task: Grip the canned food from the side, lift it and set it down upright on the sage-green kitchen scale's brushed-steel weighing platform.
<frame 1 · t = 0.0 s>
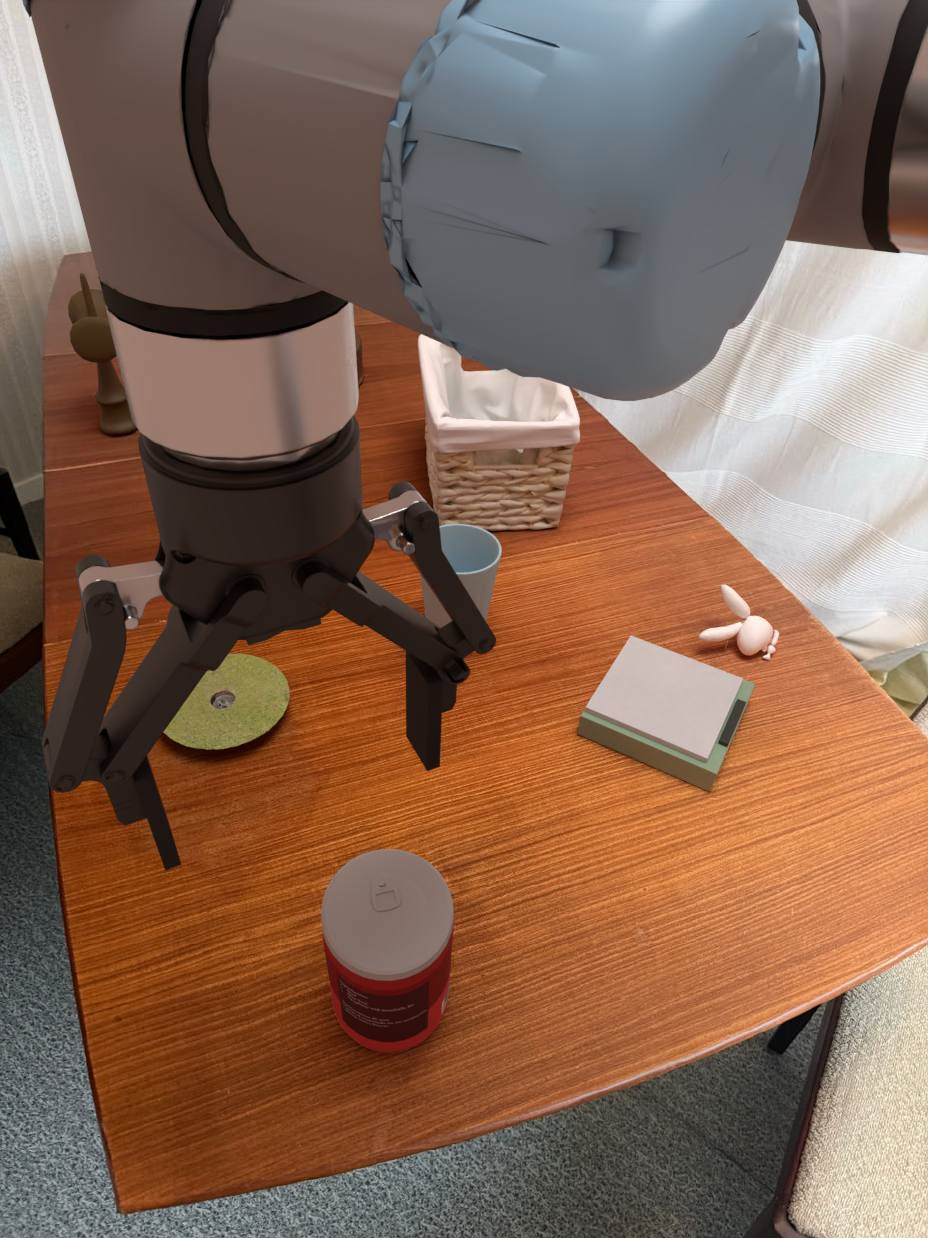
hand: (302, 796, 43), 20 cm above the table, tool pointing down, fingers open, 13 cm apart
rabbit figurine: (729, 646, 82), on the table
green grinding disc: (226, 714, 73), on the table
kendama: (121, 429, 109), on the table
scale: (664, 717, 74), on the table
container: (296, 379, 123), on the table
cup: (455, 634, 82), on the table
basket: (486, 484, 103), on the table
canned food: (390, 996, 55), on the table
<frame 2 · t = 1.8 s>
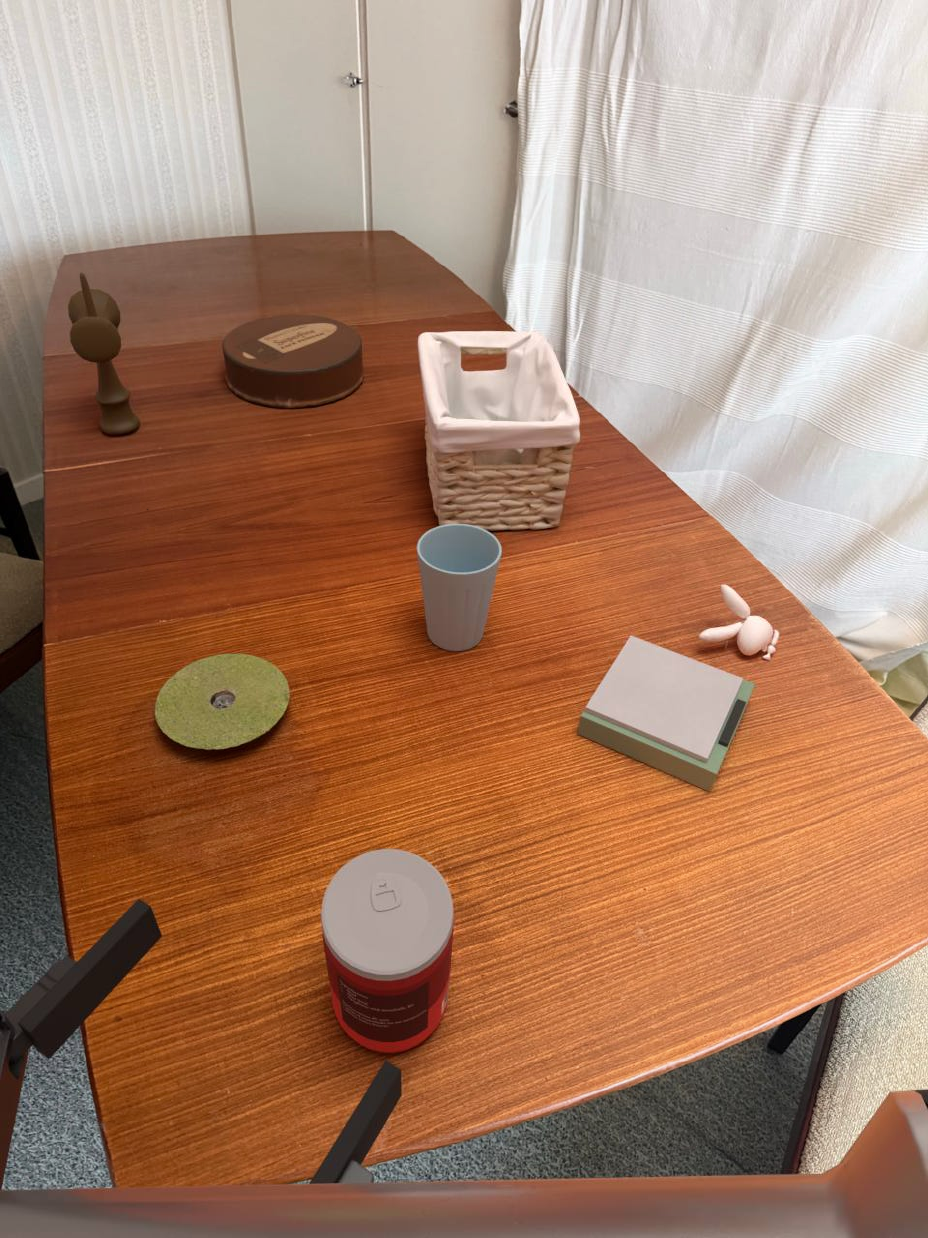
hand: (265, 991, 36), 18 cm above the table, tool horizontal, fingers open, 13 cm apart
nothing on the table moved.
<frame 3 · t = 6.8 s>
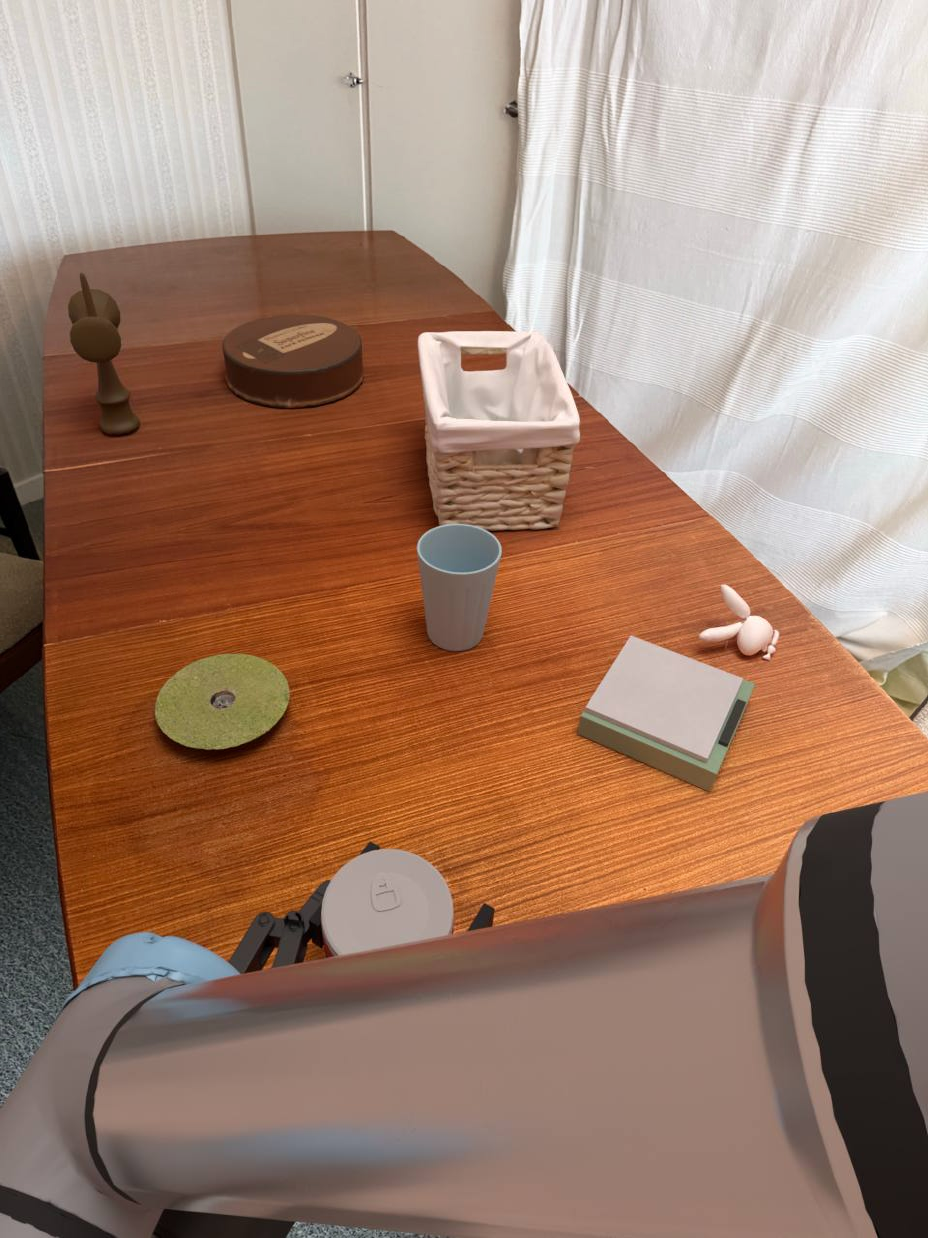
hand: (429, 885, 54), 6 cm above the table, tool horizontal, fingers closed on canned food, 8 cm apart
canned food: (390, 996, 55), on the table, touching gripper
everything else where it was.
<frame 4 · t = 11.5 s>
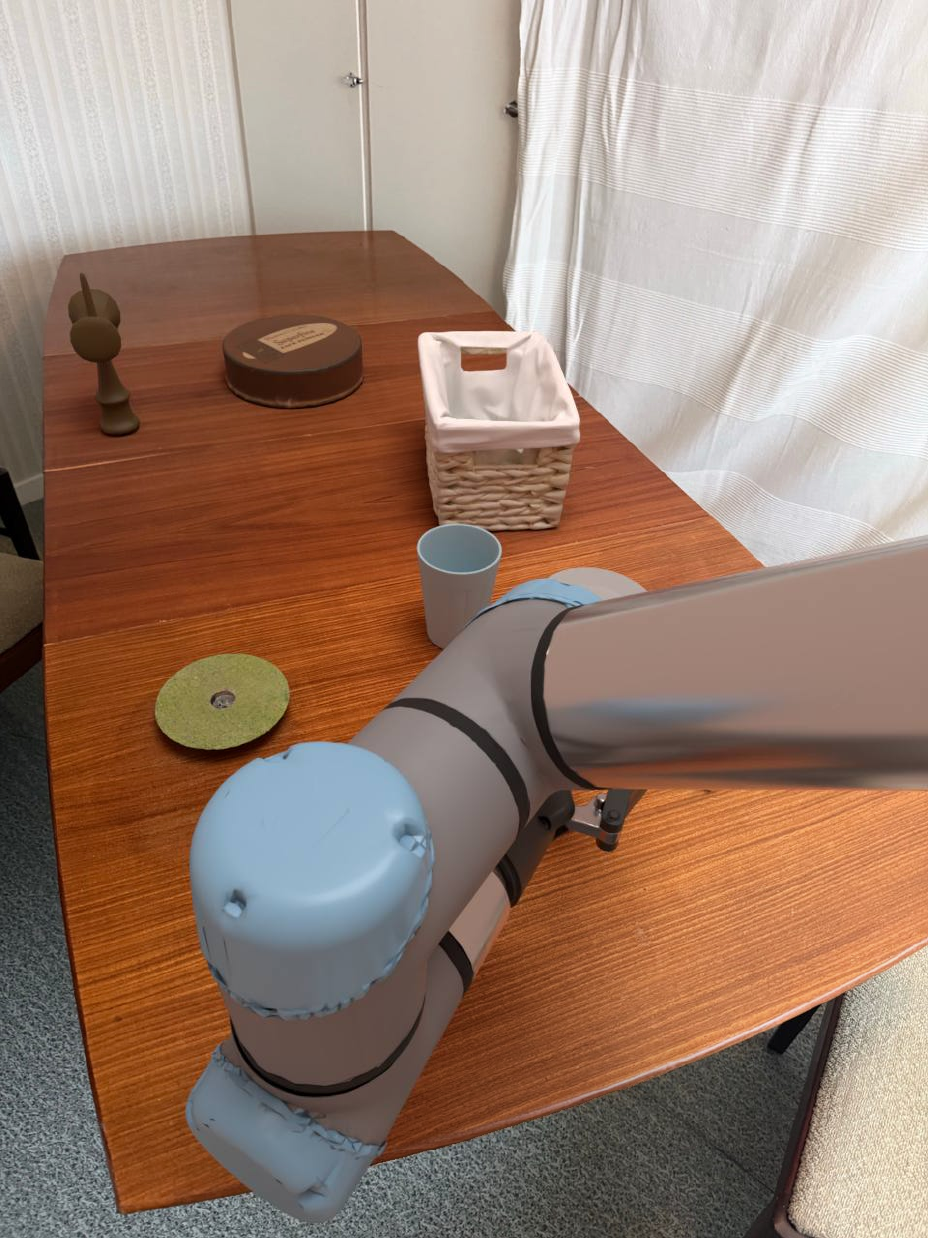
hand: (613, 617, 57), 18 cm above the table, tool horizontal, fingers closed on canned food, 8 cm apart
canned food: (573, 726, 58), point 11 cm above the table, touching gripper
everything else where it was.
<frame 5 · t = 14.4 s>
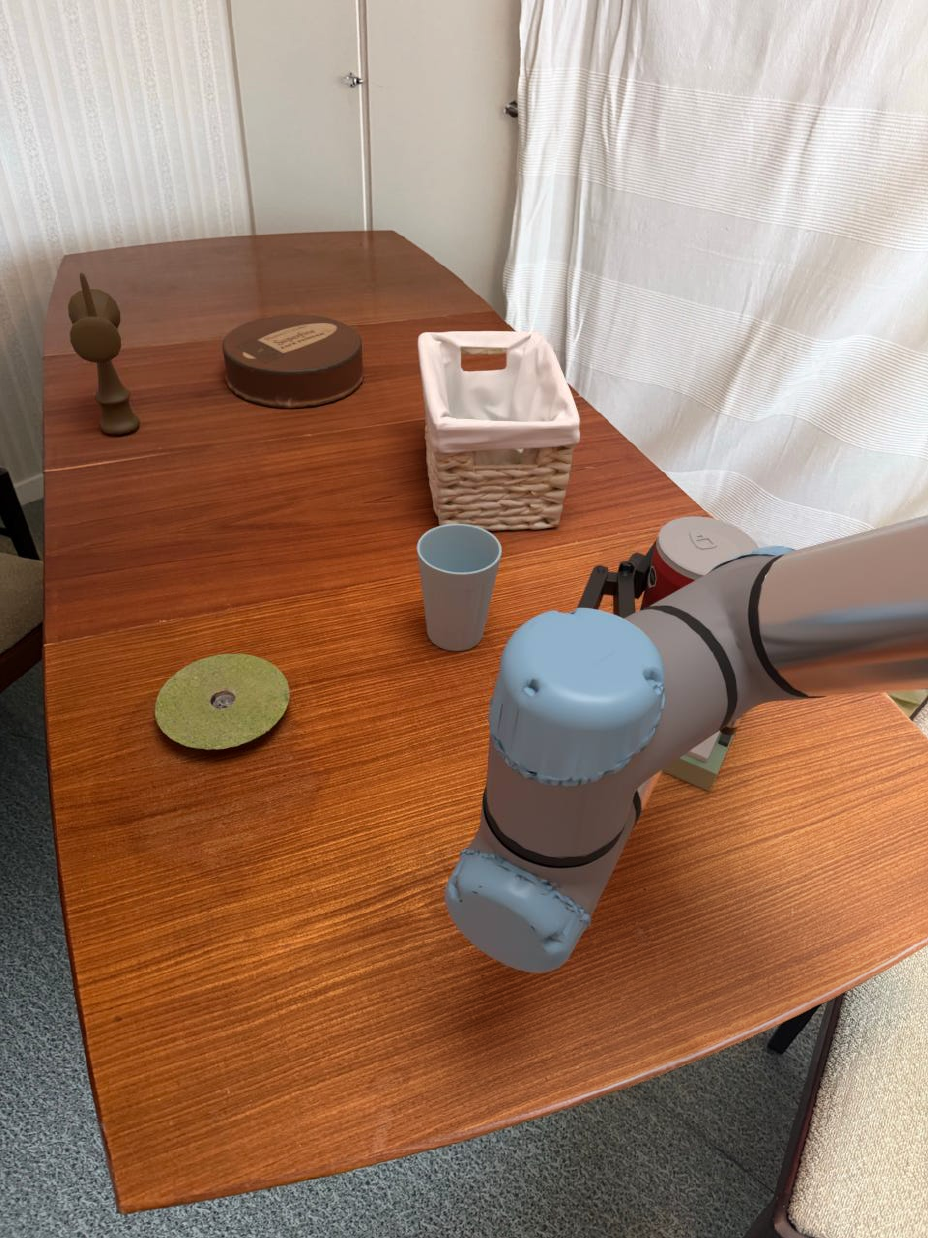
hand: (713, 560, 68), 14 cm above the table, tool horizontal, fingers closed on canned food, 8 cm apart
canned food: (677, 653, 70), point 8 cm above the table, touching gripper
everything else where it was.
when the fingers open (9 cm above the table, at t = 16.2 s): canned food stays where it is, resting on scale.
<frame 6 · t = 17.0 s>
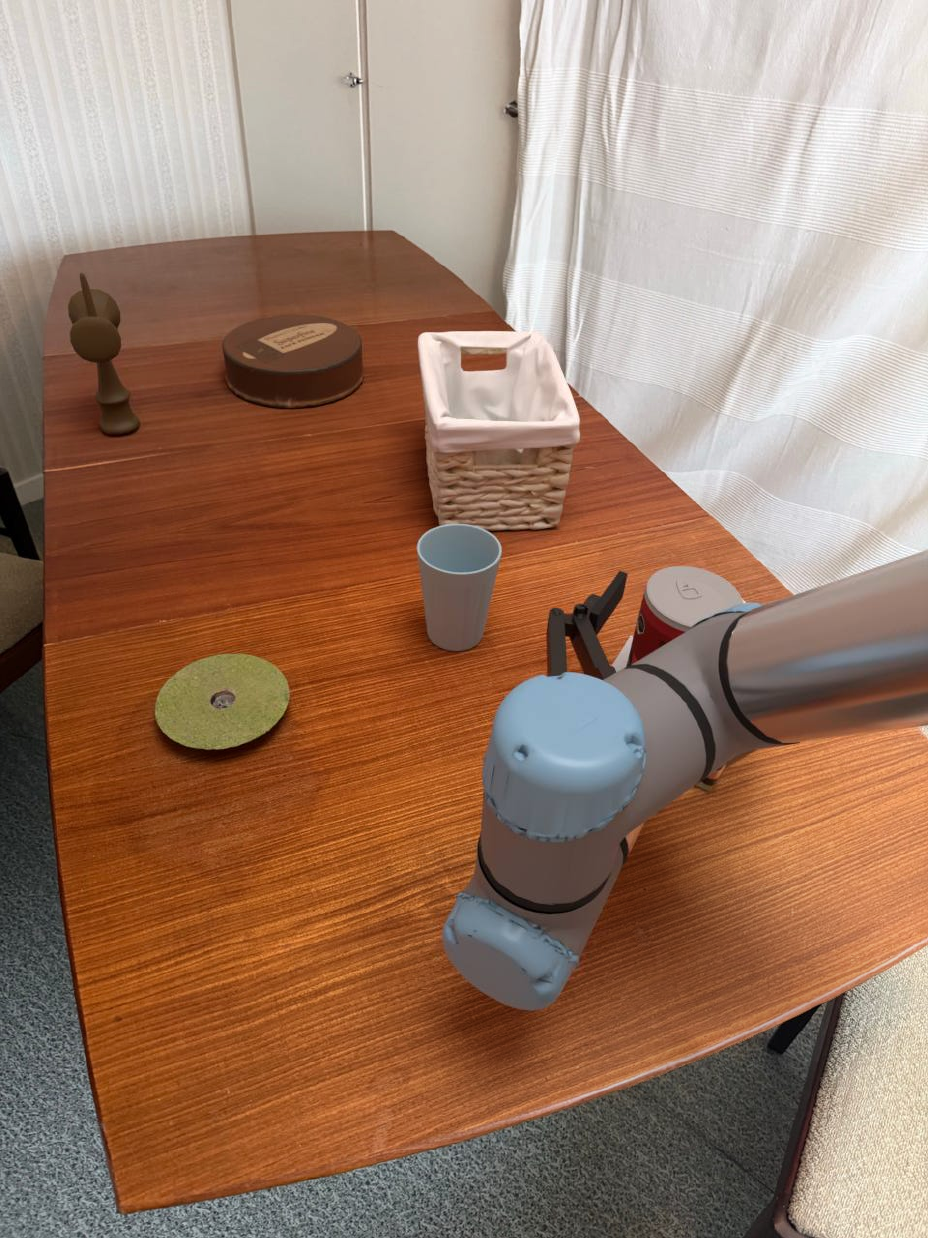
hand: (696, 611, 70), 10 cm above the table, tool horizontal, fingers open, 13 cm apart
canned food: (665, 693, 73), point 3 cm above the table, touching scale
everything else where it was.
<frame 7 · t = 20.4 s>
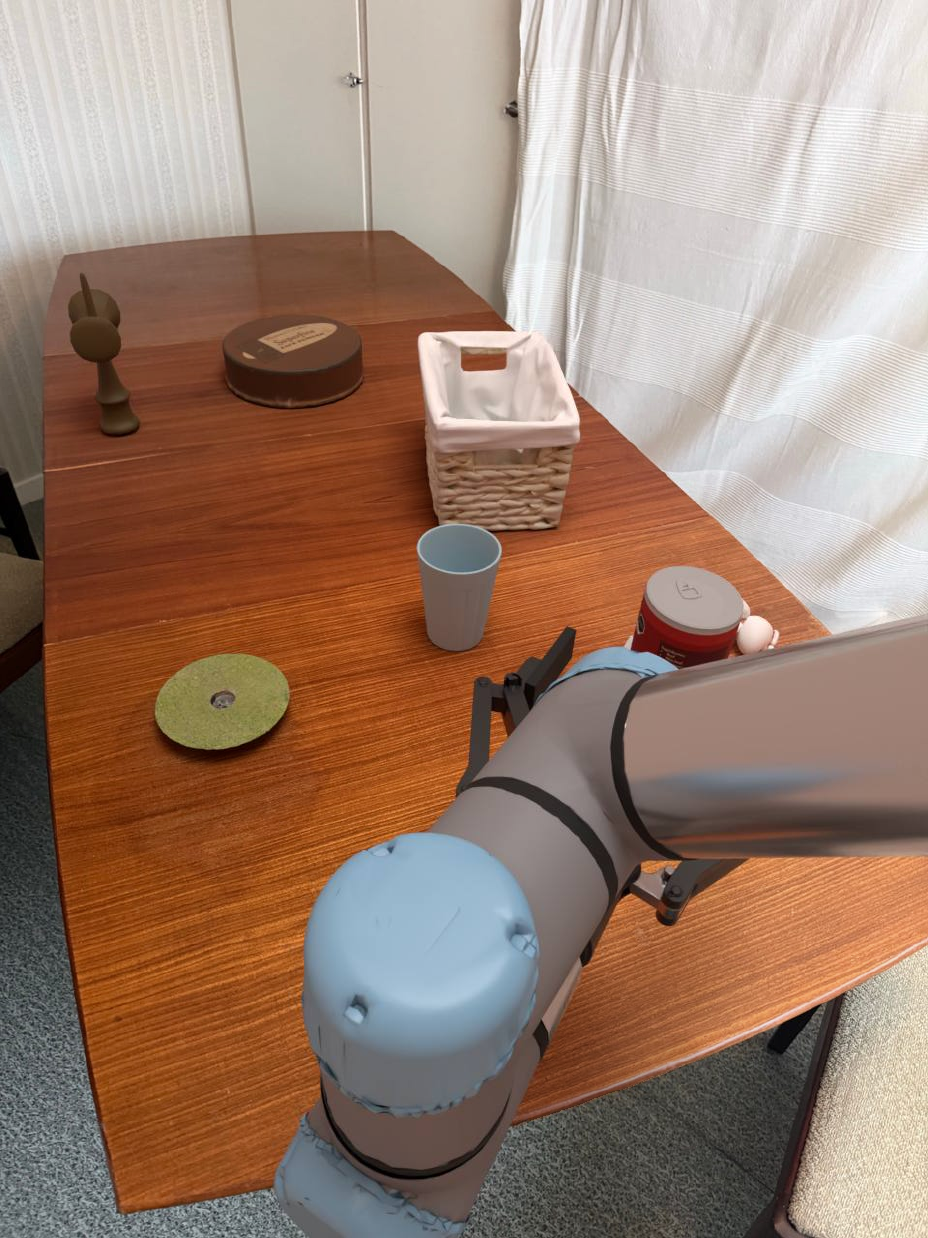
hand: (660, 677, 56), 15 cm above the table, tool horizontal, fingers open, 13 cm apart
nothing on the table moved.
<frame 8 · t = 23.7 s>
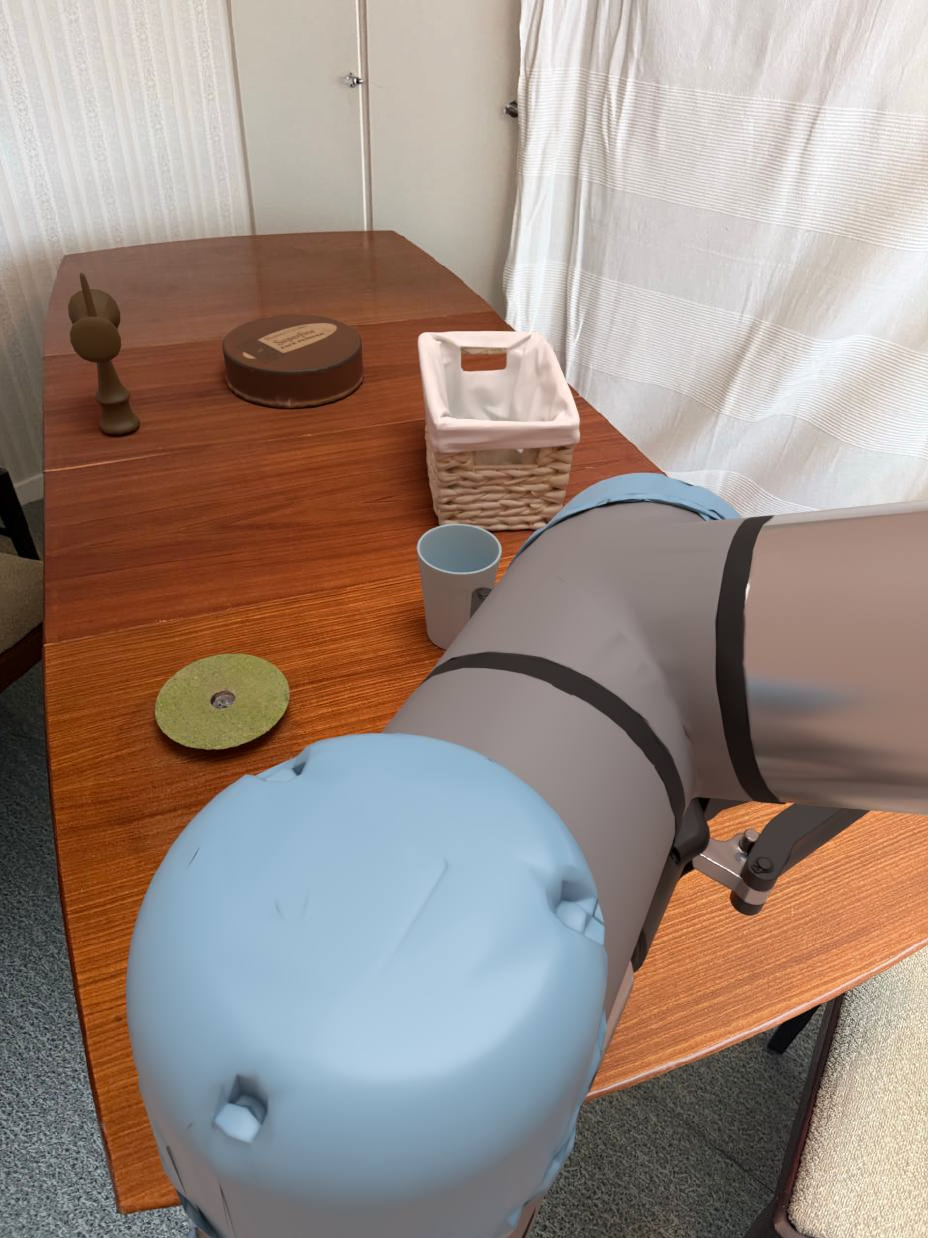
hand: (715, 594, 43), 28 cm above the table, tool horizontal, fingers open, 13 cm apart
nothing on the table moved.
at the end: canned food inside the target area on the scale (0.1 cm from its centre), point 2.8 cm above the scale's base; canned food tilted 0°; the gripper is holding nothing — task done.
